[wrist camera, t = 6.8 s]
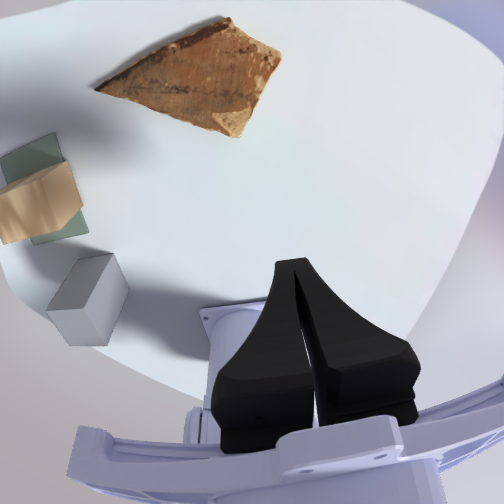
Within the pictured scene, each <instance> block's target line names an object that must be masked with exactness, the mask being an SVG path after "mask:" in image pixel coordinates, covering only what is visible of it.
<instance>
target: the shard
mask: <svg viewBox="0 0 504 504" xmlns="http://www.w3.org/2000/svg"><path fill="white" fill-rule="evenodd" d="M281 61H282V54H281V53H280V52H279V51H277V50H275V49H273V48H271V47H269V46H266V45H265V44H263V43H261V42H259V41H257V40H255V39H253V38H251V37H249V36H248V35H247V34H246V33H244V32H243V31H241V30H240V29H239V28H237V27H236V26H235V25H234V23H233V21H232V19H231V18H230V17H227V18H224V19H223V20H221V21H218V22H215V23H214V24H212V25H209V26H205V27H203V28H200V29H198V30H197V31H195V32H193V33H191V34H189V35H185V36H183V37H181V38H179V39H177V40H176V41H174V42H171V43H169V44H167V45H165V46H162V47H161V48H159V49H157V50H155V51H154V52H152V53H149V54H148V55H146V56H145V57H143V58H141V59H140V60H138V61H136V62H135V63H134V64H132V65H131V66H129V67H127V68H126V69H125V70H124V71H123V72H121V73H119V74H118V75H116V76H114V77H113V78H111V79H109V80H106V81H104V82H103V83H102V84H101V85H99V86H98V87H97V88H95V89H94V91H98V92H101V93H105V94H108V95H111V96H114V97H118V98H124V99H128V100H130V101H133V102H136V103H139V104H142V105H144V106H146V107H148V108H150V109H152V110H154V111H157V112H160V113H164V114H167V115H169V116H171V117H173V118H175V119H178V120H181V121H183V122H188V123H191V124H193V125H194V126H198V127H201V128H204V129H207V130H209V131H215V130H216V131H219V132H221V133H223V134H225V135H227V136H229V137H233V138H236V137H237V138H240V137H241V134H242V133H243V131H244V128H245V126H246V124H247V122H248V121H249V119H250V118H251V116H252V114H253V112H254V110H255V108H256V106H257V104H258V102H259V99H260V97H261V95H262V93H263V90H264V88H265V86H266V85H267V83H268V81H269V79H270V78H271V77H272V75H273V73H274V71H275V70H276V69H277V68H278V67H279V65H280V63H281Z"/></svg>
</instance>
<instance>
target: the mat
mask: <svg viewBox="0 0 504 504" xmlns="http://www.w3.org/2000/svg"><path fill="white" fill-rule="evenodd" d="M61 162H64V161H63V158H62V155H61V152H60V148H59V145H58V141H57V138H56V134H55V132H54V133H52V134H50V135H47V136H45V137H43V138H41V139H39V140H36V141H34V142H32V143H30V144H28V145H26V146H24V147H22V148H20V149H18V150H16V151H14V152H12V153H10V154H8V155H6V156H4V157H3V158H1V159H0V164H1V167H2V170H3V173H4V176H5V179H6V182H7V184H8V185H9V184H10V183H11V182H14V181H16V180H18V179H21V178H23V177H25V176H28V175H30V174H33V173H35V172H37V171H40V170H42V169H45V168H48V167H50V166H53V165H55V164H58V163H61ZM87 233H89V230H88V227H87V225H86V222H85V220H84V217H83V215H82V212H81V210H79V211H78V212H77V213H76V214H75V215H74V216H73V217H72V218H71V219H70V220H69V221H68V222H67V223H66V224H65V226H64V227H63V228H62V229H61V230H58V231H54V232H50V233H46V234H42V235H38V236H34V237H31V238H30V240H31V242H32V244H33V246H34V245H38V244H42V243H46V242H51V241H55V240H60V239H64V238H69V237H73V236H78V235H83V234H87Z"/></svg>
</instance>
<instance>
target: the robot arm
mask: <svg viewBox="0 0 504 504" xmlns="http://www.w3.org/2000/svg"><path fill="white" fill-rule="evenodd" d="M199 315H200V318H201V321H202V323H203V326H204V329H205V331H206V334H207V337H208V339H209V342H210V354H209V366H208V377H207V389H206V395H204V404H203V411H202V410H201V407H197V406H195V407H193V409H192V410H190V411H189V412H188V413H187V415H186V420H185V426H184V435H183V443H164V442H149V441H138V440H128V439H120V438H114V437H113V436H112V435H111V434H110V433H109V432H107V431H105V430H103V429H99V428H93V427H87V426H79V427H78V431H77V434H76V438H75V441H74V445H73V449H72V453H71V457H70V461H69V466H68V470H67V474H66V475H67V477H69V478H71V479H73V480H75V481H77V482H78V483H80V484H82V485H85V486H86V487H88V488H91V489H92V490H95V491H97V492H99V493H102V494H106V495H110V496H114V497H119V498H123V499H128V500H133V501H137V502H142V503H147V504H447V502H446V497H445V493H444V489H443V485H442V482H441V477H440V473H441V472H443V471H445V470H447V469H450V468H452V467H454V466H456V465H458V464H460V463H462V462H464V461H466V460H468V459H470V458H472V457H474V456H476V455H477V454H479V453H481V452H483V451H485V450H487V449H488V448H490V447H492V446H494V445H495V444H497V443H499V442H501V441H502V440H504V374H503V376H502V378H501V379H500V380H498V381H496V382H494V383H491V384H489V385H487V386H485V387H483V388H480V389H478V390H476V391H473V392H471V393H469V394H466V395H463V396H461V397H458V398H456V399H453V400H450V401H448V402H445V403H442V404H439V405H436V406H434V407H431V408H428V409H425V410H422V411H417V408H416V405H415V402H414V399H415V393H414V390H413V386H414V384H415V381H416V380H417V377H418V376H419V374H420V370H421V367H420V363H419V360H418V358H417V356H416V354H415V352H414V351H413V349H412V347H411V346H410V344H409V343H408V342H407V341H405V340H403V339H401V338H398V337H396V336H394V335H392V334H390V333H388V332H386V331H384V330H382V329H380V328H379V327H377V326H375V325H374V324H372V323H371V322H369V321H368V320H366V319H365V318H363V317H362V316H360V315H359V314H358V313H357V312H355V311H354V310H353V309H352V308H350V307H349V306H348V305H347V304H346V303H345V302H343V301H342V300H341V299H340V298H339V297H338V296H337V295H336V294H335V293H334V292H333V291H332V290H331V289H330V287H329V286H328V285H327V284H326V283H325V282H324V281H323V279H322V278H321V277H320V276H319V274H318V273H317V272H316V271H315V269H314V268H313V266H312V265H311V263H310V262H309V260H308V259H307V258H306V257H304V258H297V259H290V260H282V261H277V262H276V263H275V271H274V277H273V281H272V285H271V288H270V292H269V295H268V297H267V300H266V301H263V302H255V303H247V304H239V305H230V306H221V307H212V308H203V309H201V310H200V312H199ZM205 317H208V318H205ZM301 329H302V330H301ZM302 333H303V335H302ZM303 337H304V339H303ZM304 340H305V343H304ZM305 344H306V347H305ZM306 348H307V351H308V355H309V359H308V356H307V352H306ZM309 360H310V363H309ZM310 364H311V367H310ZM314 391H315V399H316V406H317V414H318V420H317V419H316V418H315V417H314ZM201 417H202V418H201Z"/></svg>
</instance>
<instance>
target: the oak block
mask: <svg viewBox="0 0 504 504" xmlns="http://www.w3.org/2000/svg"><path fill="white" fill-rule="evenodd" d="M82 206H83V203H82V201H81V198H80V195H79V192H78V189H77V187H76V184H75V181H74V178H73V175H72V172H71V169H70V166H69V163H68V160H66V161H64V162H61V163H58V164H55V165H53V166H50V167H48V168H45V169H42V170H40V171H37V172H35V173H33V174H30V175H28V176H25V177H23V178H21V179H18V180H16V181H14V182H11V183H10V184H9V185H7V186H6V187H4V188H3V189H2V190H0V238H1V240H2V243H3V245H5V244H8V243H12V242H16V241H19V240H23V239H27V238H31V237H34V236H38V235H42V234H46V233H50V232H54V231H58V230H61V229H62V228H63V227H64V226H65V224H66V223H67V222H68V221H69V220H70V219H71V218H72V217H73V216H74V215H75V214H76V213H77V212H78V211H79V210H80V208H81V207H82Z"/></svg>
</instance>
